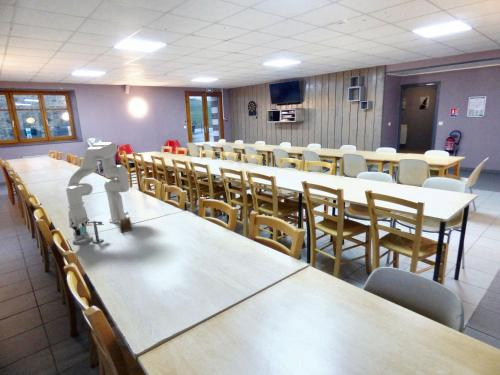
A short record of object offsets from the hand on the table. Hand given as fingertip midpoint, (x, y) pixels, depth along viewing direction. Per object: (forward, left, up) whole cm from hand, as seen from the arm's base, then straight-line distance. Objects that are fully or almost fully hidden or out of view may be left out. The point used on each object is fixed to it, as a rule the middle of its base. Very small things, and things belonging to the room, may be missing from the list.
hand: (81, 233), depth 191 cm
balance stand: (-2, +10, -6) cm, 12 cm away
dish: (0, 0, -6) cm, 6 cm away
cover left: (-21, +16, -2) cm, 27 cm away
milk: (-14, -18, -6) cm, 24 cm away
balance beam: (-2, +10, +6) cm, 12 cm away
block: (0, +1, 0) cm, 1 cm away
